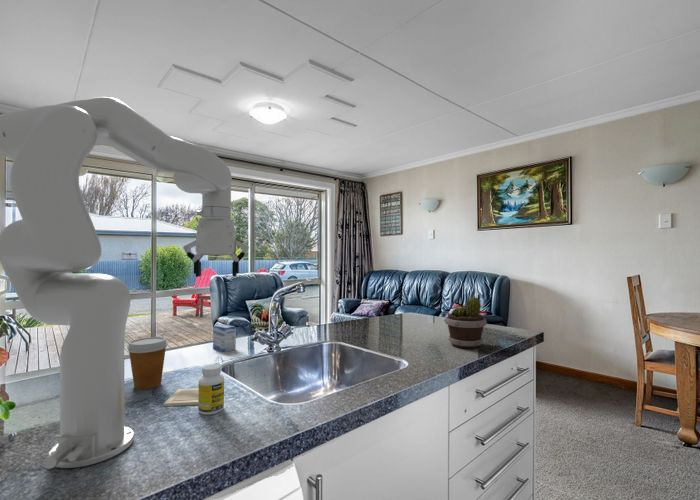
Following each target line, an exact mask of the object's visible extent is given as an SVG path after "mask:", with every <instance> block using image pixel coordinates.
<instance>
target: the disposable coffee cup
mask: <svg viewBox="0 0 700 500" xmlns="http://www.w3.org/2000/svg"><path fill="white" fill-rule="evenodd" d="M167 346H168V342H167V339H166V337H162V336H153V337H152V336H149V337H141V338H136V339H132V340H130V341H129V342H128V346H127V347H126V349H127V352H128V354H129V360H130V367H131V374H132V380H133V388H134V389H135V390H139V391H142V390H151V389H155V388H157V387H159V386H161V384H162V378H163V372H164V371H163V370H164V364H165V363H164V362H165V356H166V348H167Z"/></svg>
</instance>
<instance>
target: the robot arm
mask: <svg viewBox="0 0 700 500" xmlns="http://www.w3.org/2000/svg"><path fill="white" fill-rule="evenodd" d="M103 145H104V146H105V145H106V146H109V147H111V148H113V149H115V150H117V151H118V152H121V154H123V155H126V156H127V157H129V158H131V159H133V160H134V161H136V162H138V163H139V164H141V165H143V166H144V167H147V168H148V169H153V170H158V171H163V172H168V173H169V172H173V182H174V184H175V186H176V187H177V188H178V189H179V190H181V191H183V192H185V193H189V194H200V195H201V196H202V197H201V198H202V199H201V200H202V201H201V209H200V210H196V215H197V216H201V218H198V222H197V227H196V237H195V240H194V241H192V242H189V243H187V244H185V245H183V246H182V248H183V251H184V252H185V254H186V256H187V257H188V258H189V260H191V262H192V263H193V274H195V277H201V276H202V262H201V259H202V258H203V257H204V256H230V257H231V259H232V260H233V262H232V264H231V265H232V266H231V267H232V271H231V273H232V274H231V275H232V277H237V275H238V274H239V272H240V263H239V262H241V260H242V259H243V258H244V257H245V256H246V254H247V252H248V251H249V248H250V246H249V245H246V244H244V243H242V242H241V241H239V240H237V236H236V227H235V222H234V220H233V219H232V178H233V177H232V173H231V170H230V168H229V166H228V165H227V164H226V162H224V160H223V159H222V158H220V157H218V156H217V155H216V154H215V153H214V152H213V151H211V150H209V149H208V148H205V147H202V146H200V145H199V144H198V145H197V144H195V143H192V142H189V141H187V140H183V139H181V138H179V137H175V136H171V135H169V134H167V133H166V132H164V131H163V130H162V129H160V128H159V127H158V126H156V125H155V124H153V123H152V122H150V120H148V119H147V118H145V117H144V116H143V115H141V114H139V112H137V111H135V109H133V108H132V107H130V106H129V105H127V104H126V103H124V102H123V101H121V100H120V99H118V98H114V97H110V96H109V97H108V96H98V97H93V98H87V99H86V98H85V99H80V100H79V99H78V100H73V101H72V100H70V101H68V102H63V103H58V104H53V105H43V106H36V107H33V108H26V109H21V110H20V109H19V110H13V111H7V112H4V113H1V114H0V154H1V155H3V156H4V157H6V158H8V159H10V160H12V161H13V162H12V166H11V168H10V176H9V177H10V179H9V180H10V181H9V182H10V184H9V185H10V188H11V193H12V196H13V199H14V201H15V204H16V207H17V209H18V211H19V214H20V217H21V219H19V220H15V221H13V222H11V223H9V224H8V225H7V226H5V228H4V229H2V231H1V232H0V265H1V266H2V269H3V270H4V272H5V275H6V276H7V277H8V280H9V282H10V284H11V286H12V288H13V289H14V292H15V293H16V296H17V297H18V299H19V301H20V303H21V304H22V306H23V308H24V310H25V311H26V313H27V314H28V315H29V316H30V317H31V318H33V319H34V320H35V321H38V322H40V323H43V324H46V325H56V326H69V328H68V331H67V334H66V336H65V338H64V339H63V342H62V345H61V348H60V352H59V437H58V438H57V442H58V443H56V444H55V445H54V446H53V447H51V449H49V451H48V453H47V454H48V455H47V457H45V458H44V459H43V460H42V461H43V462H42V465H43V467H44V468H46V469H49V470H51V469H54V468H60V469H74V468H82V467H86V466H91V465H95V464H99V463H101V462H104V461H106V460H110V459H111V458H113V457H115V456H117V455H119V454H121V453H123V452H124V451H125V450H126V449H128V448H129V447H130V446H131V445H132V444H133V442H134V440H135V432H134V430H133V429H132V428H130V427H128V426H125V337H126V336H125V335H126V326H127V321H128V316H129V312H130V307H131V301H132V300H131V299H132V298H131V293H130V289H129V288H128V286H127V284H126V283H125V282H124V281H123V280H121V279H120V278H118V277H117V276H114V275H110V274H104V273H77V272H81V271H85V270H88V269H90V268H92V267H93V266H95V265H96V264H97V263H98V262H99V261H100V258H101V257H102V244H101V241H100V238H99V235H98V233H97V230H96V228H95V225H94V223H93V220H92V218H91V215H90V212H89V211H88V208H87V206H86V203H85V200H84V198H83V197H84V196H83V195H82V191H81V186H80V175H81V174H80V173H81V169H82V167H83V164H84V162H85V160H86V159H87V157H88V156H89V154H90V153H91V152H92V150H93V149H94V148H95V146H103ZM194 247H195V253H196V254H194V253H193V252H192V248H194ZM237 247H239V248H241V249H242V251H241V252H240V253H239V254H236V253H237ZM74 272H76V273H74Z"/></svg>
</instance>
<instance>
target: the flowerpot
mask: <svg viewBox="0 0 700 500" xmlns="http://www.w3.org/2000/svg"><path fill="white" fill-rule="evenodd" d="M475 294H476V293H475ZM475 294H473V295H470V296H469V298H467V299H466V303H465V305H462V307H461V306H460V305H458V306H457V305H456V306H454V309H452V312H451V313H447V316H446V317H445V318H444V320H443V321H444V323H445V324H446V325H447V328H448V332H449V336H448V341H449V342H450V343H451V345H452V346H453V347H455V346H456V347H455V348H458V347H460V348H459V349H463V348H466V349H467V348H474V349H476V348H475V347H477V348H480V345H482V343H483V341H484V340H483V337H482V335H483V331H484V327H485V326H486V325H487V323H488V321H487V319H486V318H485V317H484V315H482V313H481V312H482V307H483V305H482V301H481V300H480V299H479V296H477V295H475Z"/></svg>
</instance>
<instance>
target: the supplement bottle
mask: <svg viewBox="0 0 700 500" xmlns="http://www.w3.org/2000/svg"><path fill="white" fill-rule="evenodd" d="M221 372H222V366H221V364H219V363H214V364H213V363H211V364H206V365H204V366H202V368H201V374H202V376H200V377H199V379H198V388H199V391H198V405H197V407H198V408H197V410H198V411H197V412H198V413H199V414H201V415H204V416H210V415H215V414H218V413H220V412H222V411H223V410H224V408H225V377H224V375H223V374H221Z"/></svg>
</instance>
